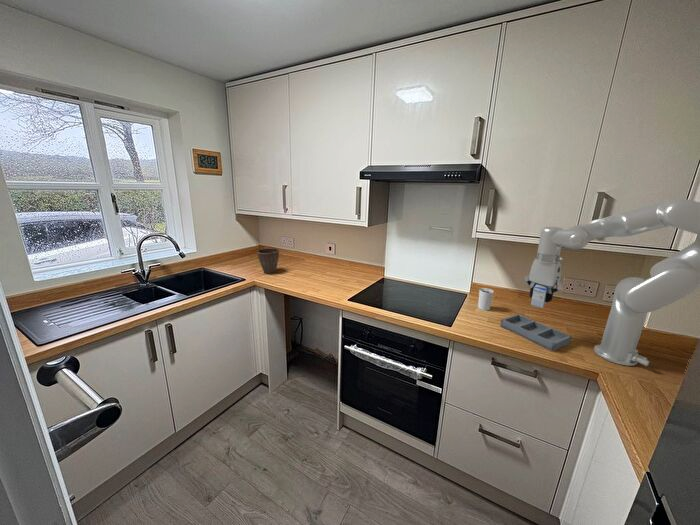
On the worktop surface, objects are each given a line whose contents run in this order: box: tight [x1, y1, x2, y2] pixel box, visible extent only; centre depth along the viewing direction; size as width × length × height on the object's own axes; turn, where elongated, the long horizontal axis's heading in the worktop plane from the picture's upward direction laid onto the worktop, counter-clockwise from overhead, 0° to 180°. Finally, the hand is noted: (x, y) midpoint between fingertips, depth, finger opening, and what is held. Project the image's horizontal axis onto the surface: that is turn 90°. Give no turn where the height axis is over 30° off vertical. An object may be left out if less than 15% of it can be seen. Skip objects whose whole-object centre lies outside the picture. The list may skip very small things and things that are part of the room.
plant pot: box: [256, 247, 280, 275], centre depth 201 cm, size 15×15×16 cm
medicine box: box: [530, 284, 548, 309], centre depth 119 cm, size 8×4×9 cm, turn 135°
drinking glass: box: [477, 287, 494, 311], centre depth 148 cm, size 7×7×10 cm
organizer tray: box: [499, 313, 573, 352], centre depth 124 cm, size 23×13×4 cm, turn 28°
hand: (540, 298), depth 120 cm, fingers closed on medicine box, 5 cm apart
